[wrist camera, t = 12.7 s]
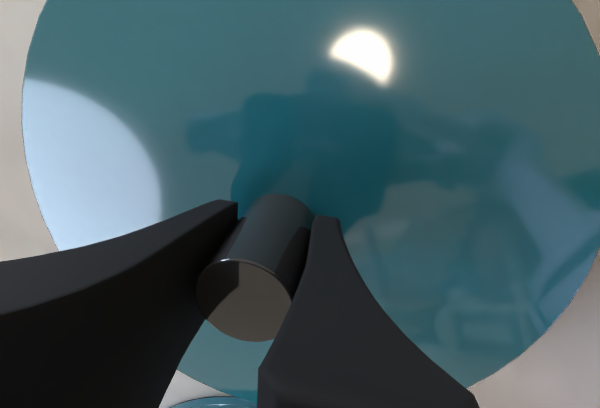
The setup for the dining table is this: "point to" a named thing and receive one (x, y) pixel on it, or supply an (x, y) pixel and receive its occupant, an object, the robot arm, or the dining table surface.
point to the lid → (332, 157)
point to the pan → (217, 403)
